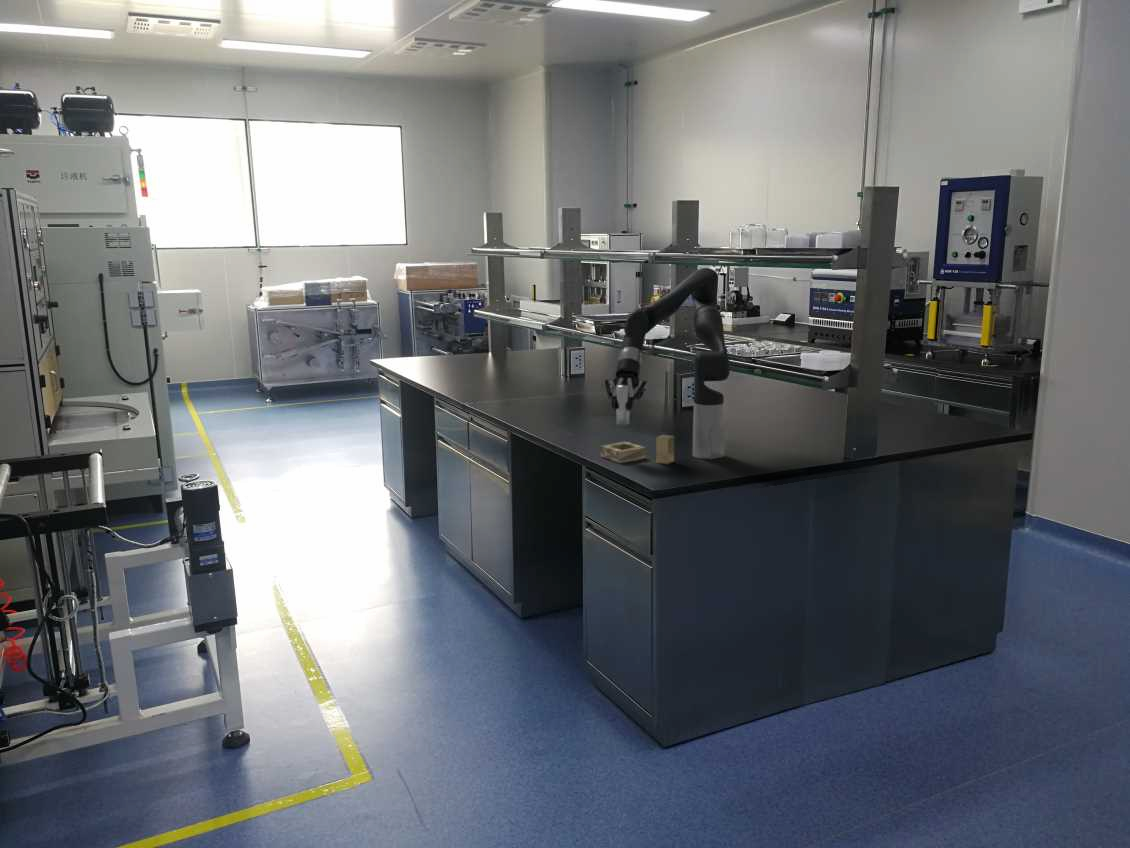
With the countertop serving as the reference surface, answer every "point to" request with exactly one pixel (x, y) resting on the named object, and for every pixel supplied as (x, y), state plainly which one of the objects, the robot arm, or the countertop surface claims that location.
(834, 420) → the countertop surface
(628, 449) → the socket block
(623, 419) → the cylinder
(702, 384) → the robot arm
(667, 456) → the yellow brown rectangular block
